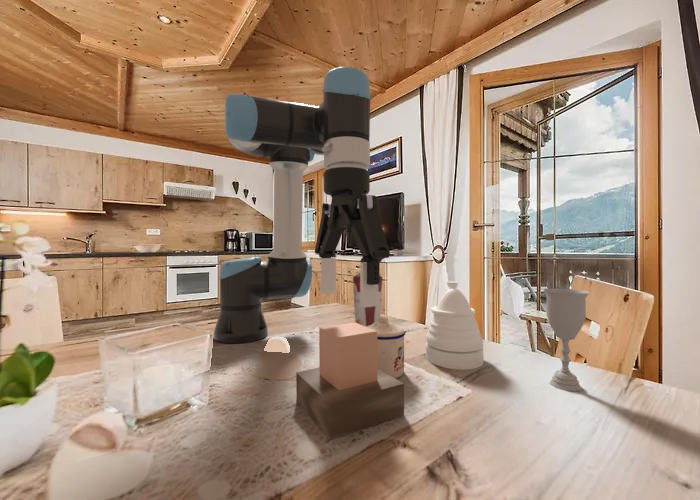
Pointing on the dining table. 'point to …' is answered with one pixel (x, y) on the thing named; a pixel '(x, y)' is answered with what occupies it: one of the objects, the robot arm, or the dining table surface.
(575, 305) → the chalice
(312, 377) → the plinth
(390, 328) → the teacup with lid
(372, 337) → the terracotta block
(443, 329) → the honey pot
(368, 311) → the liquor
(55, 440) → the dining table surface
